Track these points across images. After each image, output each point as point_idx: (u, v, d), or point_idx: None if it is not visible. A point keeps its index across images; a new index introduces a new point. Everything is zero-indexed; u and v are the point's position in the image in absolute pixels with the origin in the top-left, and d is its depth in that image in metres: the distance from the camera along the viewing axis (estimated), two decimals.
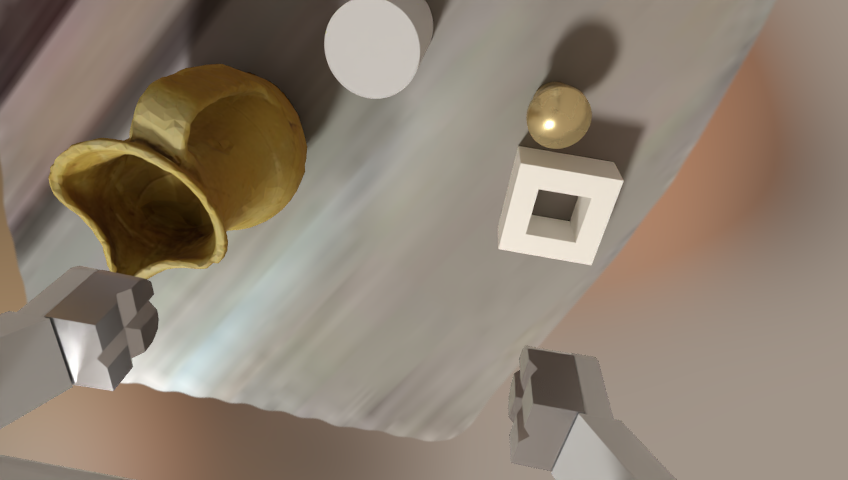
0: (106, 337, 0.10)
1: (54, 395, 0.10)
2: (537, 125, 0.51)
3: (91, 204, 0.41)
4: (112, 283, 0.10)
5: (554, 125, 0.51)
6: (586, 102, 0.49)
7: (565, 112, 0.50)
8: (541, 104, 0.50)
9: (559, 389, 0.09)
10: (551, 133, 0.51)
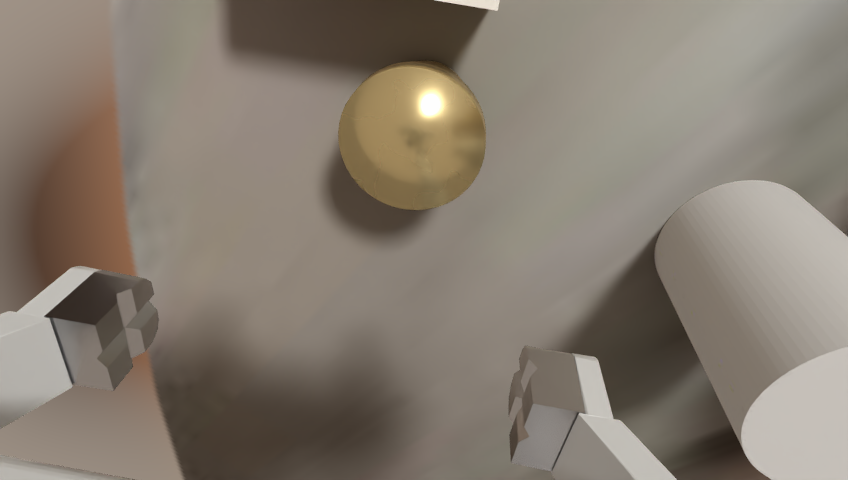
0: (106, 337, 0.10)
1: (54, 395, 0.10)
2: (460, 129, 0.21)
3: None
4: (112, 283, 0.10)
5: (419, 129, 0.21)
6: (358, 180, 0.22)
7: (398, 158, 0.22)
8: (455, 177, 0.22)
9: (559, 389, 0.09)
10: (424, 111, 0.21)
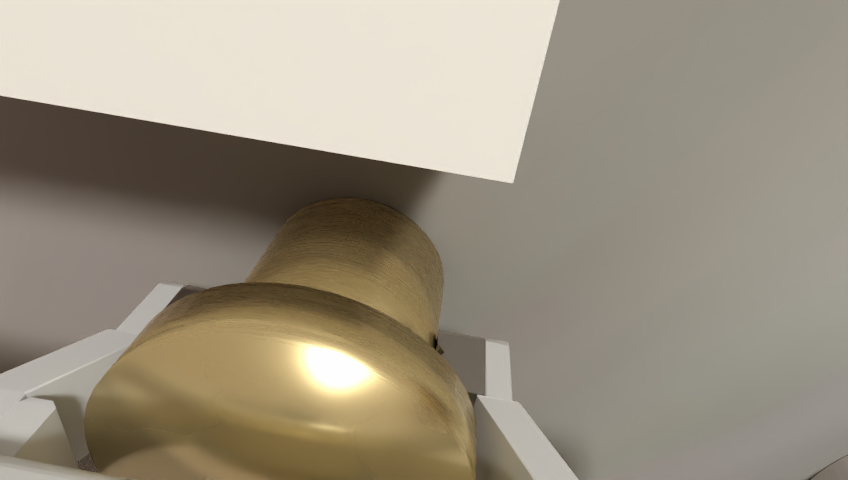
0: None
1: None
2: (404, 469, 0.08)
3: None
4: None
5: (295, 461, 0.08)
6: None
7: None
8: None
9: (462, 372, 0.09)
10: (303, 428, 0.07)
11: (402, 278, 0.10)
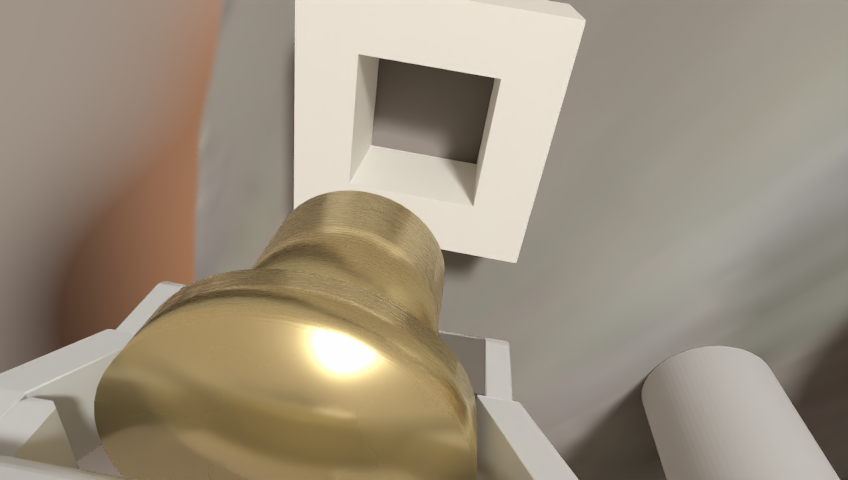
0: None
1: None
2: (407, 451, 0.08)
3: None
4: None
5: (300, 444, 0.08)
6: None
7: None
8: None
9: None
10: (309, 411, 0.07)
11: (404, 268, 0.10)
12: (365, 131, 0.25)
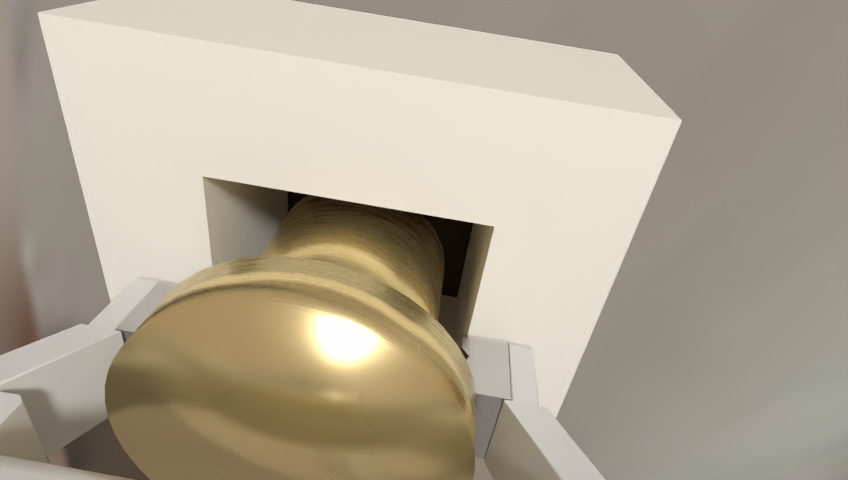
0: None
1: None
2: (408, 433, 0.08)
3: None
4: None
5: (305, 426, 0.08)
6: None
7: (263, 471, 0.09)
8: None
9: (488, 376, 0.09)
10: (312, 393, 0.08)
11: (405, 259, 0.11)
12: None
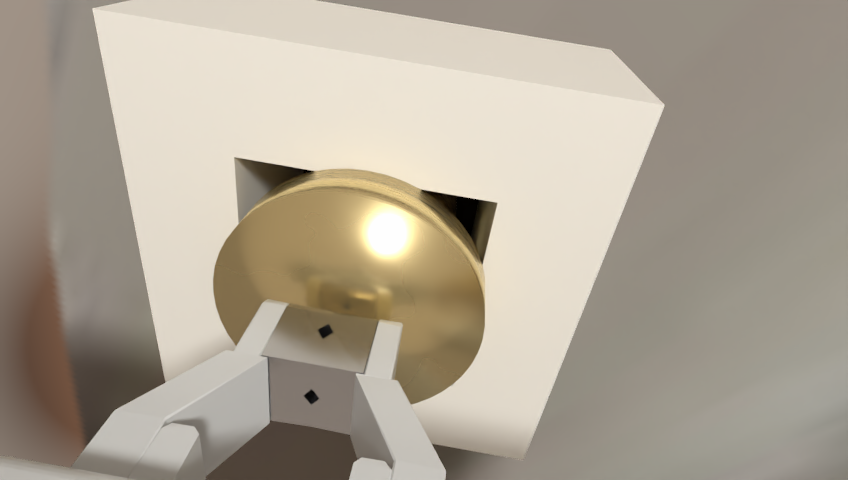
0: None
1: (256, 432, 0.10)
2: (436, 297, 0.11)
3: None
4: (308, 318, 0.10)
5: (361, 294, 0.11)
6: None
7: None
8: (430, 367, 0.12)
9: (346, 351, 0.10)
10: (368, 265, 0.11)
11: None
12: None
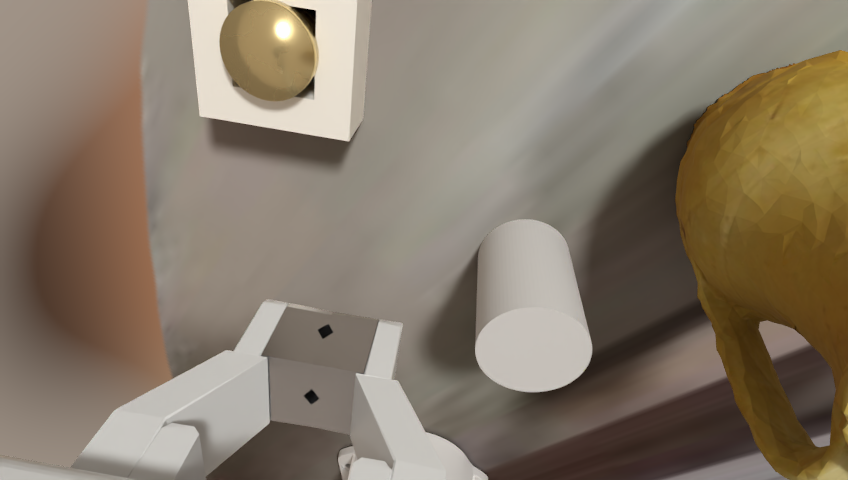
0: None
1: (256, 432, 0.10)
2: (295, 42, 0.32)
3: None
4: (308, 318, 0.10)
5: (270, 43, 0.33)
6: (236, 80, 0.34)
7: (259, 63, 0.33)
8: (297, 76, 0.33)
9: (346, 351, 0.10)
10: (271, 29, 0.32)
11: None
12: None
